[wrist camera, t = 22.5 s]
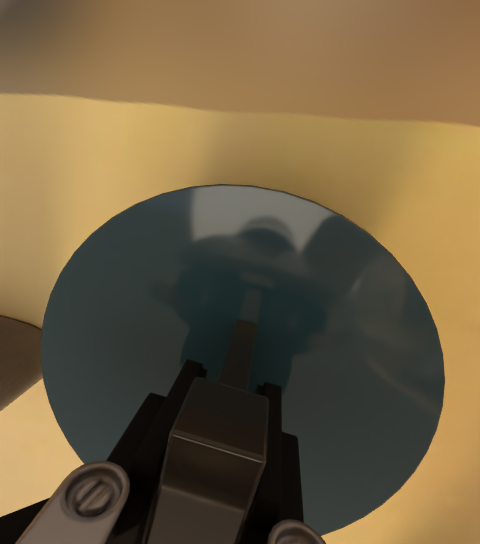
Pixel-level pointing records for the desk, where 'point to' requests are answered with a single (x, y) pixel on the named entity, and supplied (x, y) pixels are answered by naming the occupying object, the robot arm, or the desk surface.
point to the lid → (245, 354)
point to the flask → (18, 359)
